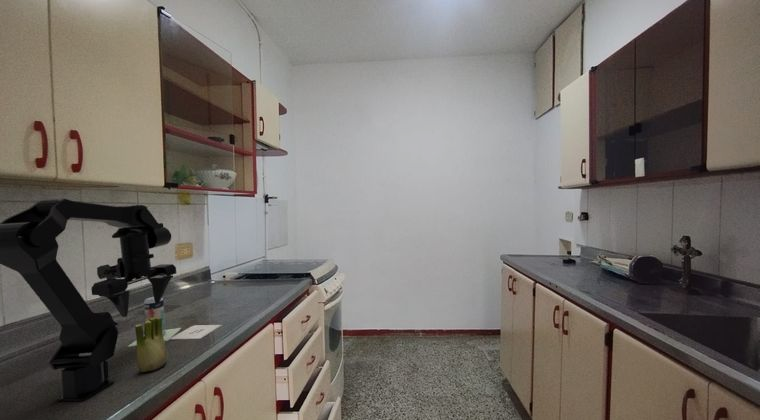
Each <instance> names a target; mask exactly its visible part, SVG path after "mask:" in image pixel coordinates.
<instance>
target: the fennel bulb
mask: <svg viewBox="0 0 760 420" xmlns="http://www.w3.org/2000/svg"><path fill="white" fill-rule="evenodd" d="M143 325H144V327H143ZM134 328H135V329H134V330H135V334H136V335H135V336H136V340H137V346H136V363H137V367H138V369H139V371H140V372H141V373H147V372H152V371H156V370H158V369H160V368H162V367H164V366H165V364H166V359H167V346H166V341H164V338H163V334H162V317H158V318H155V319H154V318H151V319H149V321H146V322H144V324H141V323H140V324H139V323H138V324H136V325H134ZM143 328H144V329H143Z"/></svg>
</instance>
